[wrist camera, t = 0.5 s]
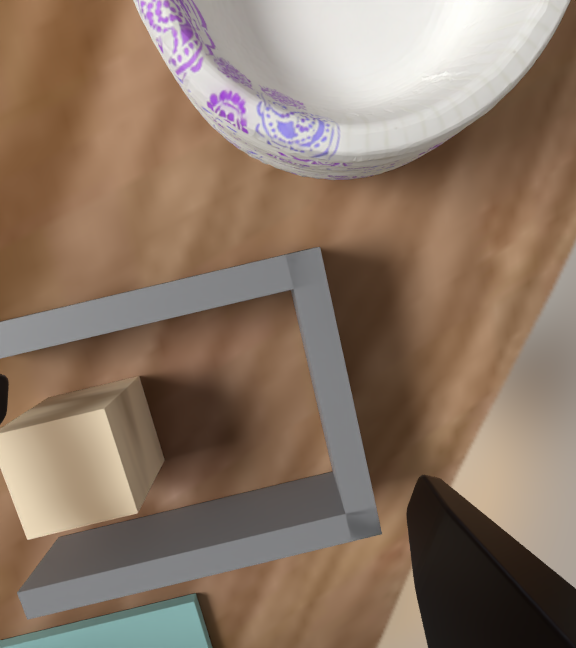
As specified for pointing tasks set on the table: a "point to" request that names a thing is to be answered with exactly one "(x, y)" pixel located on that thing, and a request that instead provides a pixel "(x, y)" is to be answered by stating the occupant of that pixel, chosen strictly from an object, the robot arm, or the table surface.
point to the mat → (128, 629)
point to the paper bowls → (347, 72)
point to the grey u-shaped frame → (226, 513)
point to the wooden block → (81, 457)
